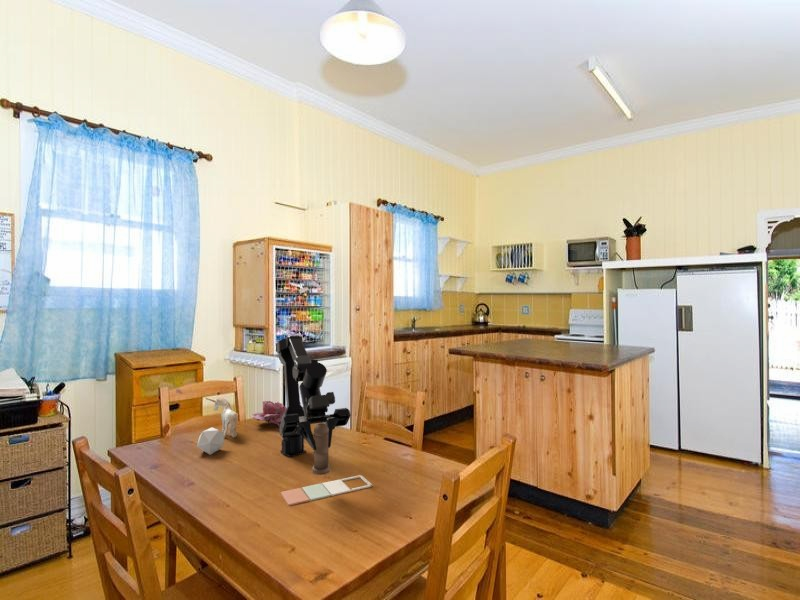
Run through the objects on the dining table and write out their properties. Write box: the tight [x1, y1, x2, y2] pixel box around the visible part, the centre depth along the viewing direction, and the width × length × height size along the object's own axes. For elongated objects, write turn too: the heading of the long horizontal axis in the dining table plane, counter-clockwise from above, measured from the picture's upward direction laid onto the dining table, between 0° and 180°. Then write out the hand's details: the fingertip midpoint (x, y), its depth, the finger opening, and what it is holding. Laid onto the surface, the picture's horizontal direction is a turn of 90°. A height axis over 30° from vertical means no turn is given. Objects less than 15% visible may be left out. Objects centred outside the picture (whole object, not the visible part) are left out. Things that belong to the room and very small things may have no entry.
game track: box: [280, 474, 374, 507], centre depth 120 cm, size 24×8×1 cm, turn 119°
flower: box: [252, 400, 287, 428], centre depth 180 cm, size 15×15×10 cm
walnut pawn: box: [311, 422, 331, 476], centre depth 118 cm, size 5×5×13 cm
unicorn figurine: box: [204, 397, 238, 439], centre depth 167 cm, size 7×20×13 cm, turn 51°
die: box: [196, 426, 225, 456], centre depth 149 cm, size 8×9×10 cm
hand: (322, 448), depth 117 cm, fingers closed on walnut pawn, 4 cm apart
